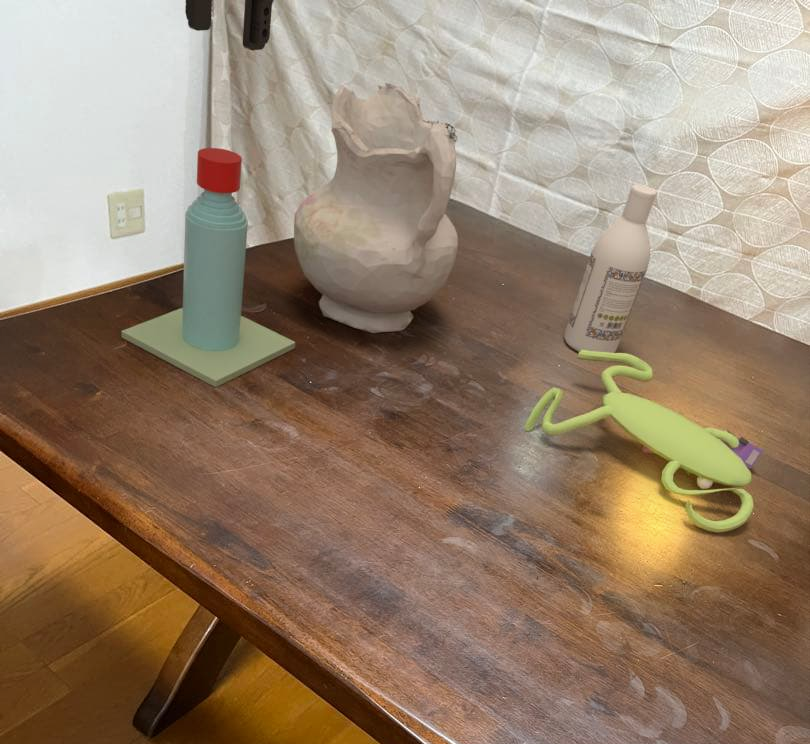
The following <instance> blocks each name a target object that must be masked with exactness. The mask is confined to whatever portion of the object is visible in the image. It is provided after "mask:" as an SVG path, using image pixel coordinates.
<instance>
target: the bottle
mask: <svg viewBox="0 0 810 744" xmlns="http://www.w3.org/2000/svg"><path fill="white" fill-rule="evenodd" d="M248 223H249V221H248V219H247V215H246V213H245V212H244V211H243V209H242V206H240V204H239V203H238V201H237V200H236V199H235V197H234V196H233V193H217V192H212V191H208V190H205V189H203V192H201V193H200V195H199V196H197V197H196V199H195V200H193V201H192V202H191V204H190V205H188V207H187V210H186V211H185V214H184V247H183V252H184V253H183V281H182V282H183V283H182V285H183V286H182V308H183V318H182V337H183V339H184V340H185V342H187V343H188V344H189V345H191V346H193V347H196V348H199V349H202V350H208V351H224V350H228V349H231V348H233V347H235V346H236V345H237V344H238V343H239V335H240V322H241V316H242V308H243V292H244V281H245V280H244V278H245V266H246V265H245V264H246V253H247V252H246V250H247V241H248V240H247V239H248Z"/></svg>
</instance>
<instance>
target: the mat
mask: <svg viewBox="0 0 810 744" xmlns="http://www.w3.org/2000/svg"><path fill="white" fill-rule="evenodd" d="M182 318H183V307H181V308H178V309H175V310H172V311H171V312H168V313H165V314H163V315H160V316H157V317H153V318H151V319H149V320H146V321H143V322H141V323H139V324H136V325H134V326H130V327H128V328H126V329H122V330H121V338H122V339H123V340H126V341H127V342H129V343H131V344H133V345H135V346H137V347H138V348H141V349H143V350H144V351H146V352H148V353H150V354H152V355H154V356H156V357H158V358H159V359H161V360H162V361H165V362H167V363H169V364H171V365H172V366H174V367H176V368H178V369H180V370H182V371H184V372H185V373H187V374H189V375H191V376H193V377H195V378H197V379H199V380H201V381H203V382H205V383H207V384H208V385H210V386H212V387H214V388H218V387H219V386H221V385H223V384H226V383H227V382H230V381H232V380H234V379H236V378H238V377H240V376H241V375H244V374H246V373H248V372H250V371H252V370H254V369H256V368H258V367H260V366H262V365H264V364H266V363H268V362H270V361H273V360H274V359H277V358H279V357H280V356H282V355H284V354H287V353H288V352H291V351H292V350H294V349H296V341H294V340H292V339H291V338H288V337H286V336H284V335H282V334H280V333H278V332H276V331H274V330H272V329H270V328H267V327H265V326H264V325H261V324H260V323H257V322H255V321H254V320H251V319H249V318H247V317H245V316H242V315H241V322H240V335H239V343H238V344H237V345H236V346H235V347H233V348H231V349H228V350H224V351H208V350H202V349H199V348H196V347H193V346H191V345H189V344H188V343H187V342H185V340H184V339H183V337H182Z"/></svg>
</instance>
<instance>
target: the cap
mask: <svg viewBox="0 0 810 744" xmlns="http://www.w3.org/2000/svg"><path fill="white" fill-rule="evenodd" d="M242 163H243V158H242V156H241V155H240V154H239V153H237V152H235V151H232V150H228V149H225V148H217V147H205V148H200V149H199V150H198V151H197V164H196V184H197V186H199V187H200V188H201V189H203V190H204V189H205V190H208V191H212V192H217V193H232V194H234V193H237V192H239V191H240V189H241V178H242Z"/></svg>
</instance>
